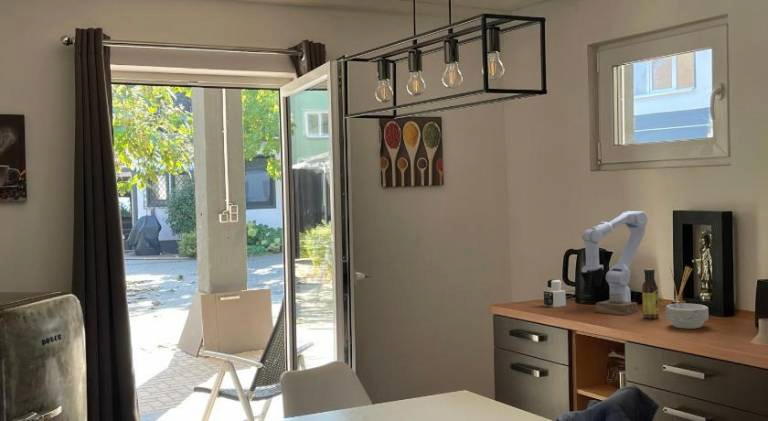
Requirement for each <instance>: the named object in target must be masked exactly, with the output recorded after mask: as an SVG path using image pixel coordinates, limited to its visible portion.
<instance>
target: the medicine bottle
mask: <svg viewBox="0 0 768 421" xmlns="http://www.w3.org/2000/svg"><path fill="white" fill-rule="evenodd" d="M566 300H567V298H566V289H565V290H564V289H562V281H561V280H560V279H555V278H554V279H548V280H547V289H544V290H543V305H544V306H545V307H549V308H559V307H566V305H567V304H566Z"/></svg>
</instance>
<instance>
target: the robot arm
mask: <svg viewBox="0 0 768 421" xmlns="http://www.w3.org/2000/svg"><path fill="white" fill-rule="evenodd" d="M647 216H648V215H647V214H646V212H645V211H643V210H640V211H636V210H633V211H632V210H626V211H624V212H622V213H621V214H619V215H618V216H617V217H615V218H613V219H612V220H610V221H609V222H608V221H600V223H599V224H598V225H596V226H592V228H591V229H589V228H588V229H586V230H584V232H582V236H581V239H582V240H583V242H584V246H585V265H583V267H581V271H580V273H579V274H580V275H581V277H582V279H583V282H584V284H585V288H586V289H591V288H592V283H593V282H592V281H593V280H592V279H593V278H594V285H595V287H601V285H602V279H603V277H604V275H605V280H606V282H607V283H608V286H609V293H619V294H622V301H625V302H632V300H631V296H632V295H631V289H630V287H629V286H628V284H629V282H630V279H631V278H630V277H631V275H632V271H631V270H630V266H631V264H632V262H633V260H634V258H635V255H636V253H637V251H638V249H639V247H640V245H641V243H642V241H643V238H644V235H646V234H645V232H646V226H647V223H648V222H649V218H648V217H647ZM624 224H625V226H626V227H627V229H628V230H629V231H630V235H629V237H628V239H627V241H626V243H625V246H624V248H623V249H622V252H621V254H620V256H619V258H618V261H617V263H616V264H614V265H613V266H611V268H610V269H609V270H608V271H607V272H606V270H605V269H604V264H600V251H599V250H600V248H599V247H600V246H599V243H600V241H601V240H602V238H604V237H606V236H609V234H611V233H612V231H613V229H616V228H618V227H620V226H623V225H624ZM605 272H606V274H605Z"/></svg>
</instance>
